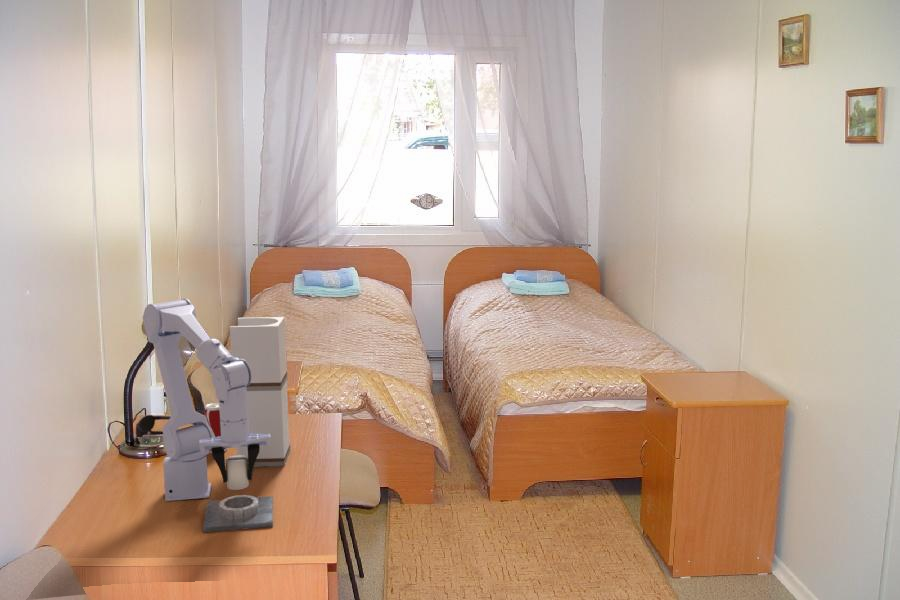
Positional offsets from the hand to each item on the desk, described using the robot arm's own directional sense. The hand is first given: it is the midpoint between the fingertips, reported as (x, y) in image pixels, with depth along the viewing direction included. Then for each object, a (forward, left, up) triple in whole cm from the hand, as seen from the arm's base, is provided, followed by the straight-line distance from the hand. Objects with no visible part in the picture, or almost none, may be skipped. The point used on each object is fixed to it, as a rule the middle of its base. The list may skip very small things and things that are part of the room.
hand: (237, 479), depth 198 cm
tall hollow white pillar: (+5, +34, -8) cm, 35 cm away
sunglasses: (-21, +57, -9) cm, 61 cm away
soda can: (-7, +43, -8) cm, 44 cm away
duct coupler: (0, 0, -2) cm, 2 cm away
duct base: (0, 0, -8) cm, 8 cm away
